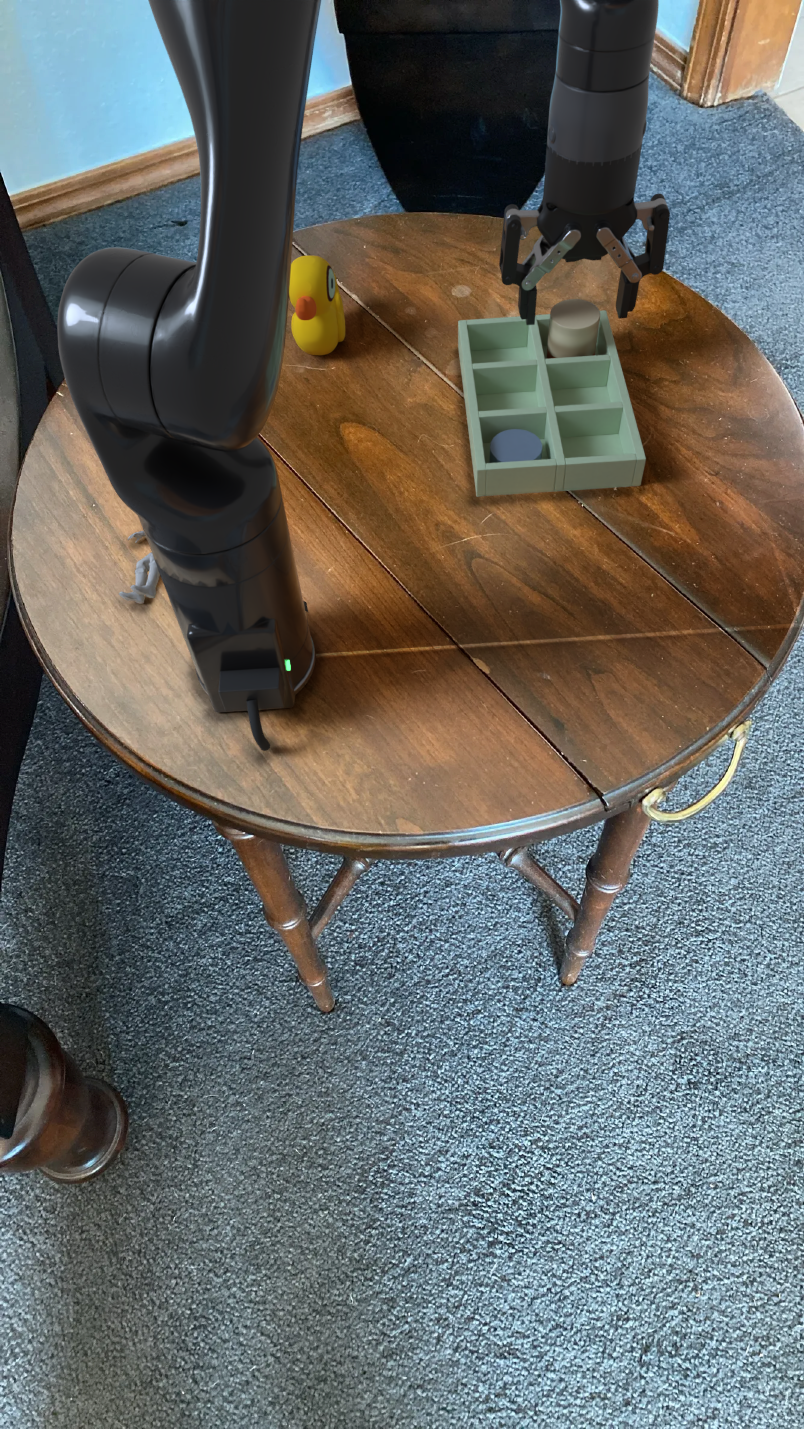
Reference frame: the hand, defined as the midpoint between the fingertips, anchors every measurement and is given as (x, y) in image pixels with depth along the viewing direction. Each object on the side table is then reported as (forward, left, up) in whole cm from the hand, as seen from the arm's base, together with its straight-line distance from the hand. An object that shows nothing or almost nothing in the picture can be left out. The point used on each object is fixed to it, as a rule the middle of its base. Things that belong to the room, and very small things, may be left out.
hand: (574, 316), depth 90 cm
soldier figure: (-22, +37, -6) cm, 44 cm away
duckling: (+6, +24, -6) cm, 26 cm away
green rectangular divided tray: (-7, +3, -6) cm, 10 cm away
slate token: (-14, +7, -5) cm, 16 cm away
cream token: (0, 0, -3) cm, 3 cm away
